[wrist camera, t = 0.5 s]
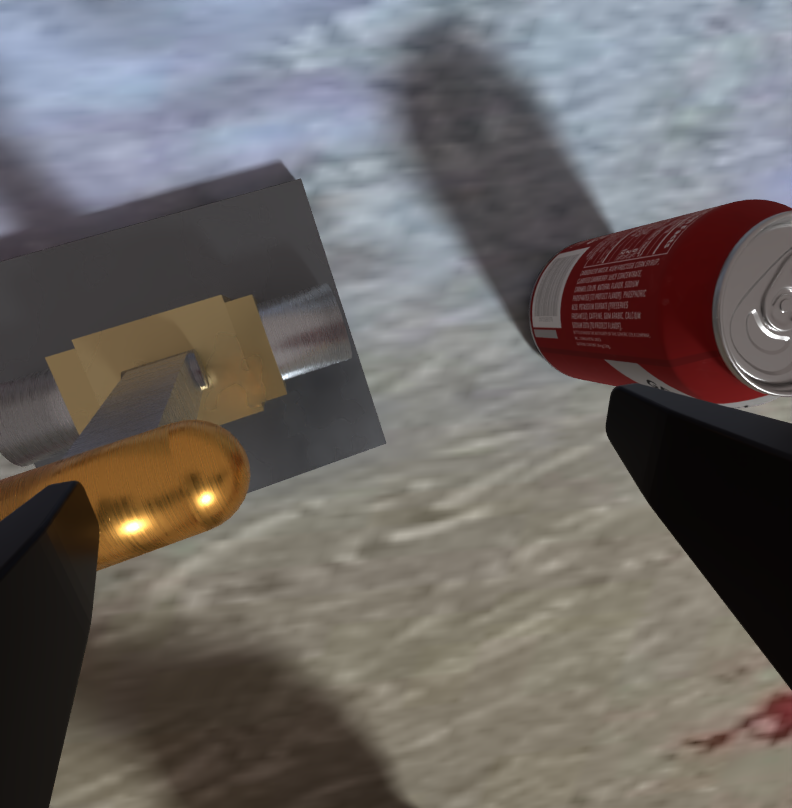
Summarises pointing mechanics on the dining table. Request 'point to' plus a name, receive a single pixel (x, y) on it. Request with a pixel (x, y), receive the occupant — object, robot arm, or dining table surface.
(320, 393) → the valve base
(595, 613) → the dining table surface
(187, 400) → the lever
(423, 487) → the dining table surface
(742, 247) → the soda can
